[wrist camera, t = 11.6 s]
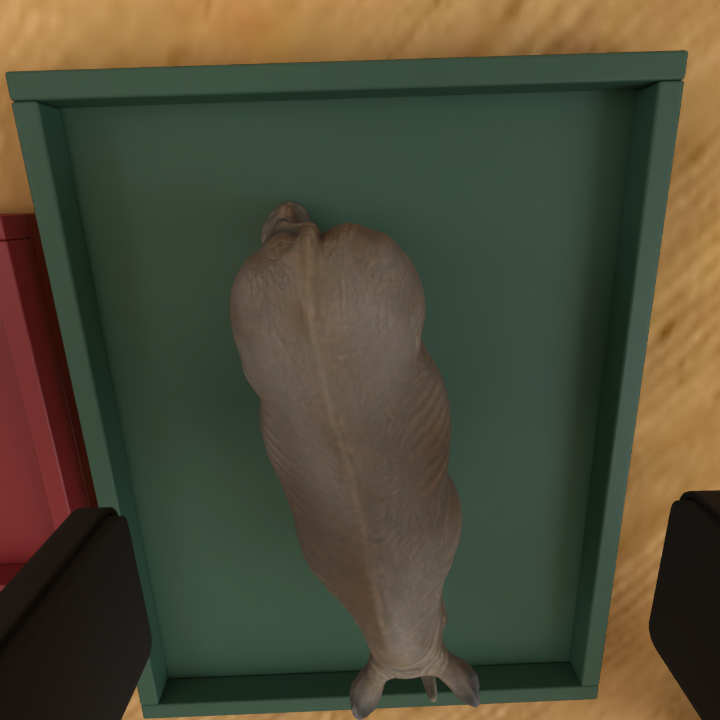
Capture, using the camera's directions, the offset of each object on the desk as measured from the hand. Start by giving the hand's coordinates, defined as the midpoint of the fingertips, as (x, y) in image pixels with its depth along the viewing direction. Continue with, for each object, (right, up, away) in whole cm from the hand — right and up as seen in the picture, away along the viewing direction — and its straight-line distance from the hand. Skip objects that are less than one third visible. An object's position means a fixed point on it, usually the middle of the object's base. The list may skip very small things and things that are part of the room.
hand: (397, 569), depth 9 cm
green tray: (-1, +2, +7) cm, 7 cm away
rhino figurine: (0, +1, +6) cm, 7 cm away
